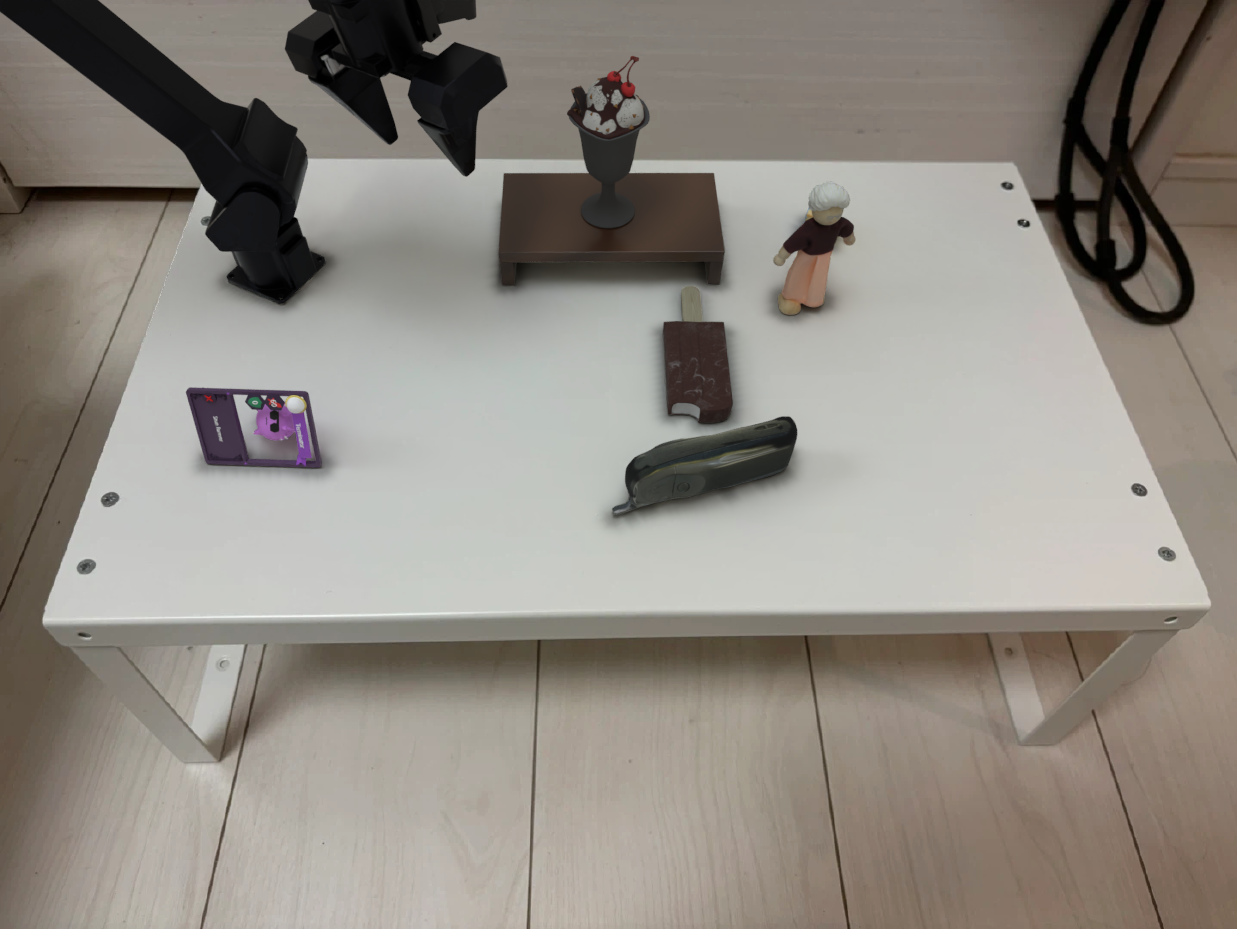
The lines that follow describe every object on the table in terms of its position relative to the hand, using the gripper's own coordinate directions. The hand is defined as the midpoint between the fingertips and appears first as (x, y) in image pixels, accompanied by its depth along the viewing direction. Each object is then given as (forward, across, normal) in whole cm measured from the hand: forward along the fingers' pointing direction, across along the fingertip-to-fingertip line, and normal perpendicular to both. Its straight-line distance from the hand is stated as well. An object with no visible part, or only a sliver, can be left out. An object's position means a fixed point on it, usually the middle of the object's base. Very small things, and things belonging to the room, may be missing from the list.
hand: (430, 156), depth 75 cm
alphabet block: (+19, -21, -24) cm, 38 cm away
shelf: (+15, -7, -11) cm, 20 cm away
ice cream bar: (+17, -21, -4) cm, 27 cm away
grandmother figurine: (+19, -25, -16) cm, 35 cm away
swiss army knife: (+17, -30, +6) cm, 34 cm away
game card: (+10, -1, +24) cm, 26 cm away
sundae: (+11, -7, -11) cm, 17 cm away
